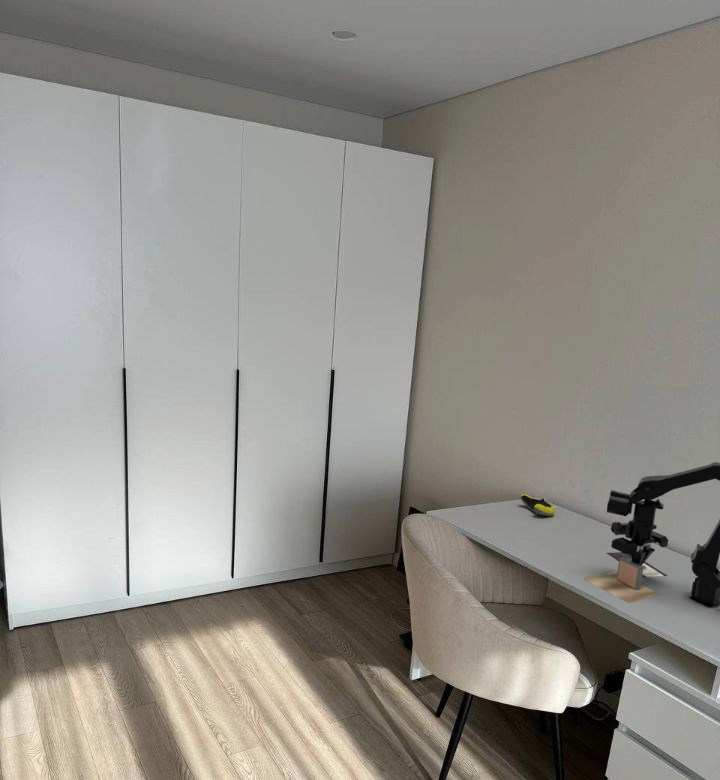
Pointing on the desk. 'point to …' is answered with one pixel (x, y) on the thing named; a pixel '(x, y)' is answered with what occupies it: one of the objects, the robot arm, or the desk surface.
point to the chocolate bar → (647, 568)
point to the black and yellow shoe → (538, 505)
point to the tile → (630, 573)
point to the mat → (621, 588)
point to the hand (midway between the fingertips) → (636, 569)
